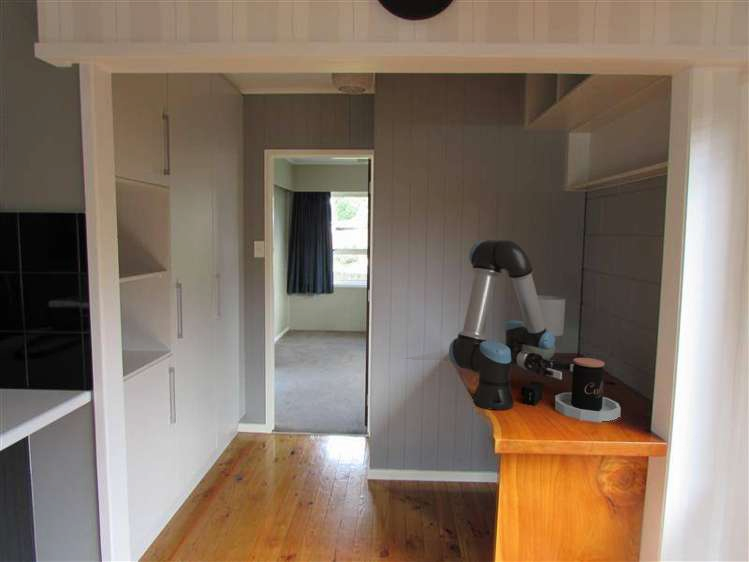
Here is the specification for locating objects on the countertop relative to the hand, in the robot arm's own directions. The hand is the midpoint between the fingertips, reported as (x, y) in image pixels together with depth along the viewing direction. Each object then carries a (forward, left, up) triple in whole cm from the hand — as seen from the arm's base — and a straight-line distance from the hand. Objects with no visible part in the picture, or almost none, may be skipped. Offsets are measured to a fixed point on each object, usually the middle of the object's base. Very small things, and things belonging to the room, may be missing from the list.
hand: (573, 373), depth 180 cm
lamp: (+47, +41, -13) cm, 63 cm away
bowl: (-1, -6, -13) cm, 14 cm away
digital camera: (-8, +12, -13) cm, 20 cm away
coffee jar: (-1, -6, -12) cm, 13 cm away
